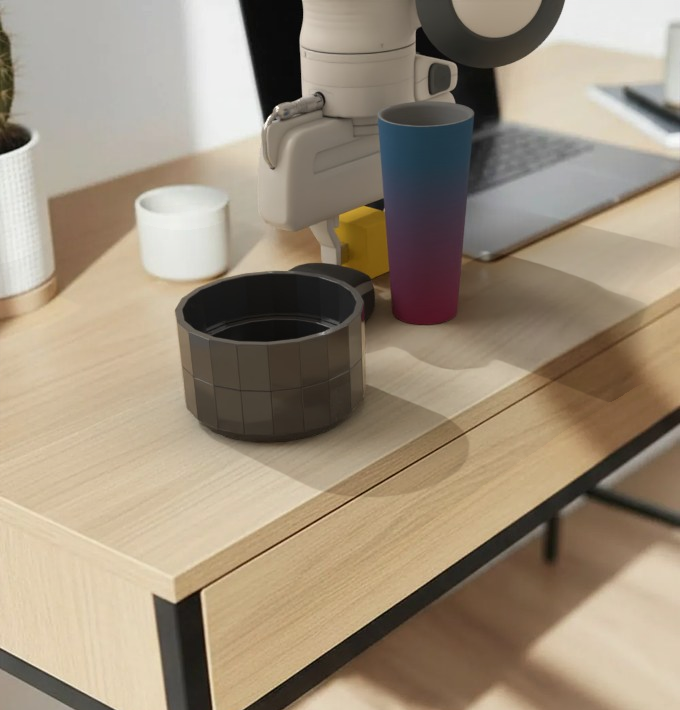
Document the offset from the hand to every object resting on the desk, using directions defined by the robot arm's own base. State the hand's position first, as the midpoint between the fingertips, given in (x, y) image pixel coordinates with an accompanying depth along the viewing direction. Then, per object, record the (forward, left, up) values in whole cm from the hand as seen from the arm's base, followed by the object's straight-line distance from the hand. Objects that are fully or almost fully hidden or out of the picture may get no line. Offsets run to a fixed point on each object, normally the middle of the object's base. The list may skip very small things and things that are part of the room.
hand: (362, 252), depth 100 cm
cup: (-10, +4, -2) cm, 11 cm away
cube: (0, 0, -1) cm, 1 cm away
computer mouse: (-5, +11, -2) cm, 12 cm away
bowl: (-12, +22, -1) cm, 25 cm away
